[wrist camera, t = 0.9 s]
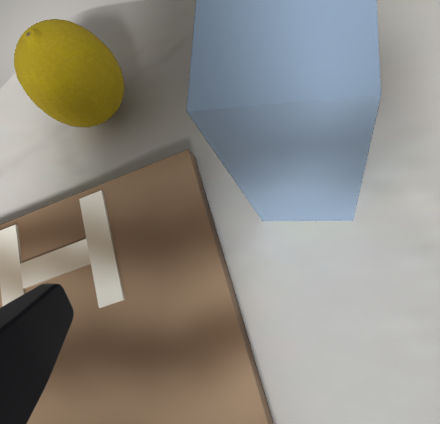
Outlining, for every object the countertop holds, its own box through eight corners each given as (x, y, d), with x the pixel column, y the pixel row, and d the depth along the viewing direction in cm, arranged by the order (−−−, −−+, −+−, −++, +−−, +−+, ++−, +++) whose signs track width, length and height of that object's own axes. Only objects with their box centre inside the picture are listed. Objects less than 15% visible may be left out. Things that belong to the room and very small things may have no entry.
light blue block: (353, 220, 22) (381, 95, 10) (262, 220, 23) (186, 111, 11) (350, 136, 23) (373, -69, 11) (265, 141, 24) (199, -37, 12)
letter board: (301, 519, 19) (299, 534, 17) (-43, 595, 22) (-66, 613, 21) (194, 156, 25) (186, 148, 24) (-60, 257, 29) (-79, 254, 27)
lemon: (108, 160, 27) (23, 99, 19) (59, 121, 29) (-35, 52, 21) (159, 97, 27) (94, 13, 20) (107, 62, 29) (31, -26, 22)
